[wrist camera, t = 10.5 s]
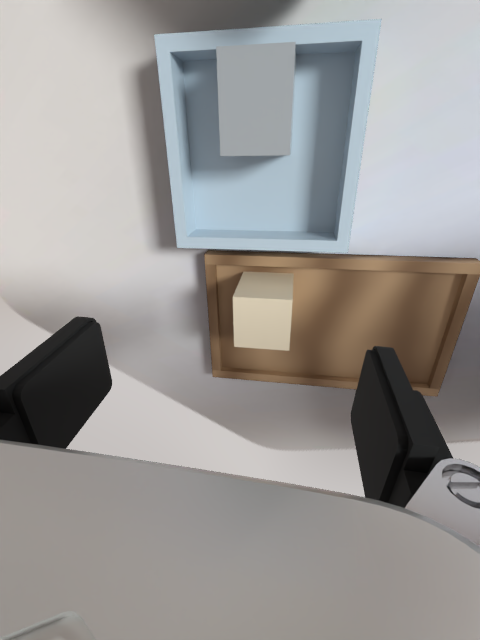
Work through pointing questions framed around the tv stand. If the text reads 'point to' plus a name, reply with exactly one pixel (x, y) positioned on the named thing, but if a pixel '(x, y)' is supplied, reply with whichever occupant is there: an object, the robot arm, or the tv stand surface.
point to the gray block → (256, 98)
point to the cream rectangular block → (263, 310)
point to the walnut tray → (345, 315)
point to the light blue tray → (269, 171)
